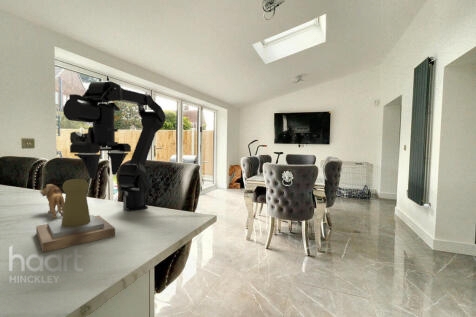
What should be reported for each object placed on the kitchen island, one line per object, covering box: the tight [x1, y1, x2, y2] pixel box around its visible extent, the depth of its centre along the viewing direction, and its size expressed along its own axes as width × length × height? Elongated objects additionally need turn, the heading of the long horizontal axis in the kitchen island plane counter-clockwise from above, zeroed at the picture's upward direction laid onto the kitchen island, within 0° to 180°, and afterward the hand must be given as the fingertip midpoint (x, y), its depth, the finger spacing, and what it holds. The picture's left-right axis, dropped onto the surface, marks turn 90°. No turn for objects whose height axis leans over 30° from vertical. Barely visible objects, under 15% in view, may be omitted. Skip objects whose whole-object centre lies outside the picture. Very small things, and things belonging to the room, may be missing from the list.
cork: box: [61, 178, 91, 227], centre depth 59 cm, size 6×6×11 cm
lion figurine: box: [39, 183, 65, 219], centre depth 77 cm, size 15×5×9 cm, turn 54°
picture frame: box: [35, 214, 116, 253], centre depth 60 cm, size 14×14×3 cm
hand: (104, 176), depth 72 cm, fingers open, 9 cm apart
